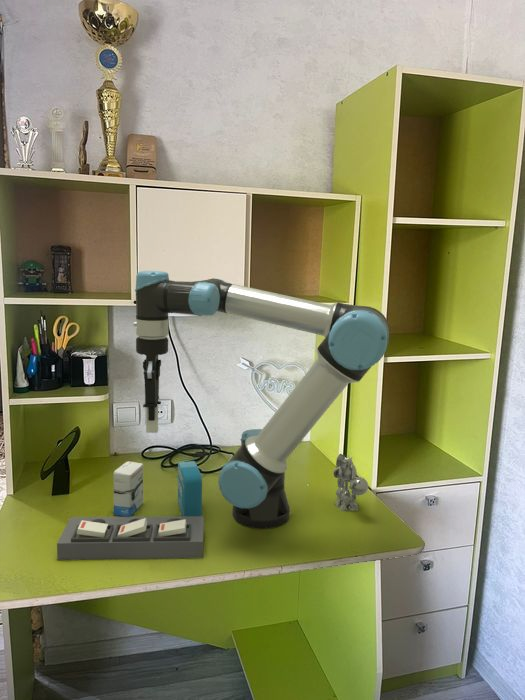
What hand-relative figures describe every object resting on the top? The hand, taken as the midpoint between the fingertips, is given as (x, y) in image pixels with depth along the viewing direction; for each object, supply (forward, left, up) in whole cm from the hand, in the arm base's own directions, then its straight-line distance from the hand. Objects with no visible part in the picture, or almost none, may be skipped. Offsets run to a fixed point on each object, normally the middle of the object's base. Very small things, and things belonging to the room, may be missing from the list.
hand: (152, 431), depth 135 cm
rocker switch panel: (+3, +10, -24) cm, 27 cm away
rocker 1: (+12, +13, -19) cm, 26 cm away
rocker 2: (-6, +13, -19) cm, 23 cm away
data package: (-9, -7, -25) cm, 27 cm away
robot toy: (-52, -7, -25) cm, 58 cm away
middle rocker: (+3, +13, -19) cm, 23 cm away
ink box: (+7, -8, -25) cm, 27 cm away
